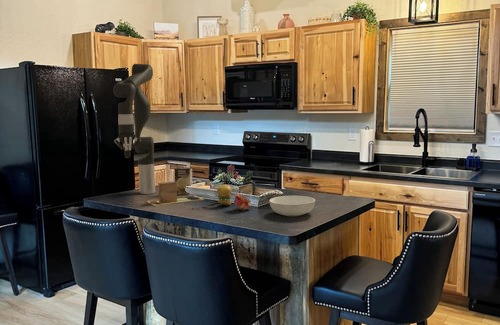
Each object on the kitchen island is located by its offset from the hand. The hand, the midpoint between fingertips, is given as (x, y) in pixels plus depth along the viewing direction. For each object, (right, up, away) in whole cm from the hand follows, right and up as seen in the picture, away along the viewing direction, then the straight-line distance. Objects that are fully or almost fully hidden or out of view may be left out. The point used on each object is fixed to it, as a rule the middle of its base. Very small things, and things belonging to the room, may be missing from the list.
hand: (127, 157), depth 229 cm
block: (+19, -23, +5) cm, 30 cm away
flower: (+58, -26, -10) cm, 65 cm away
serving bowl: (+81, -27, -20) cm, 88 cm away
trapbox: (+23, -24, +7) cm, 34 cm away
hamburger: (+49, -25, 0) cm, 55 cm away
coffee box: (+24, -22, +29) cm, 43 cm away
